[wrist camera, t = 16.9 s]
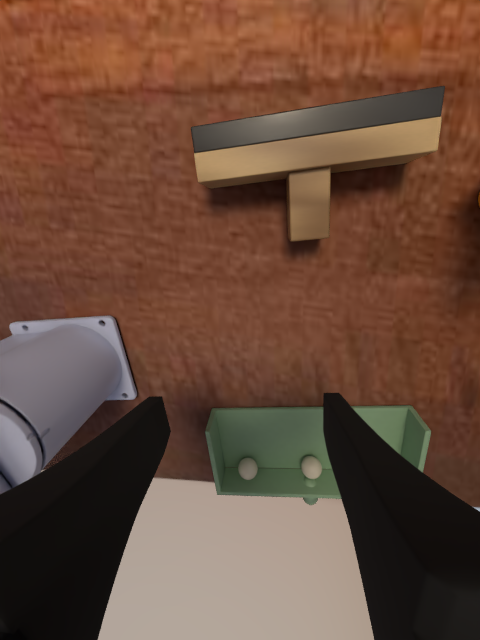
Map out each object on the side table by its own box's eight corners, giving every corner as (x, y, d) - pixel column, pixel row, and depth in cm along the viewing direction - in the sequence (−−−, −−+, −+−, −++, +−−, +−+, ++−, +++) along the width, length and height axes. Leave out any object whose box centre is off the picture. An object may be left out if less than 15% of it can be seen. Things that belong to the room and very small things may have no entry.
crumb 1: (240, 453, 24) (245, 455, 25) (232, 474, 23) (238, 474, 25) (257, 461, 23) (262, 462, 25) (250, 483, 23) (255, 483, 24)
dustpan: (211, 407, 23) (204, 431, 21) (411, 405, 21) (431, 431, 19) (224, 482, 27) (220, 511, 24) (398, 487, 25) (413, 518, 22)
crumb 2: (297, 475, 22) (302, 453, 23) (300, 472, 24) (304, 452, 25) (318, 484, 22) (323, 461, 22) (320, 480, 23) (324, 459, 24)
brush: (203, 142, 16) (216, 245, 18) (189, 125, 13) (207, 250, 15) (412, 109, 14) (399, 227, 17) (447, 83, 12) (426, 229, 14)
